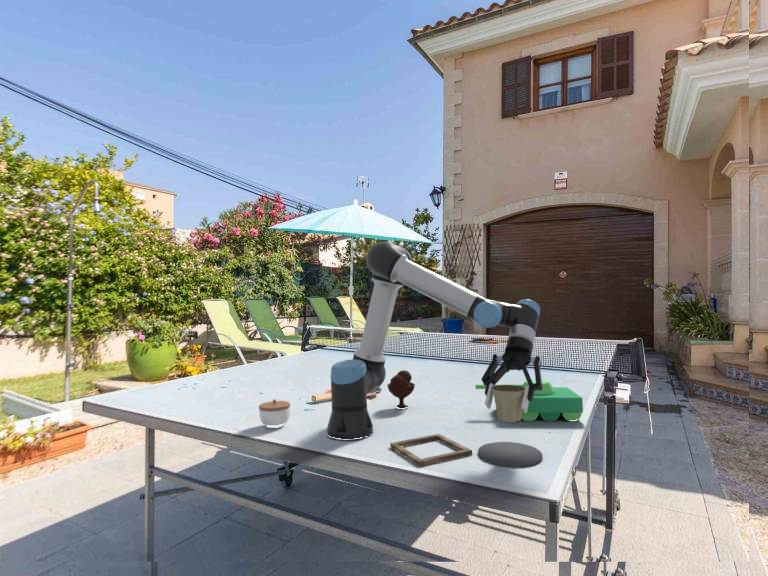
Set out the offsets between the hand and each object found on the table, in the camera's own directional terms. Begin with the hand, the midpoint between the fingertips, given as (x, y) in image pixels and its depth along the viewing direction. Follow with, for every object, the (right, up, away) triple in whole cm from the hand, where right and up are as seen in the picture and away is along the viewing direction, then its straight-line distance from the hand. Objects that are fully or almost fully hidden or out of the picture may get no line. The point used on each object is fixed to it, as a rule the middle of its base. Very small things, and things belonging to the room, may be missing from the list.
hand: (505, 407), depth 116 cm
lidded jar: (-71, -17, +37) cm, 82 cm away
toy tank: (+19, -15, +42) cm, 48 cm away
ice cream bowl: (-26, -16, +57) cm, 64 cm away
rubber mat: (+2, -14, +2) cm, 14 cm away
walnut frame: (-20, -14, +7) cm, 25 cm away
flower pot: (+2, -4, +2) cm, 5 cm away
